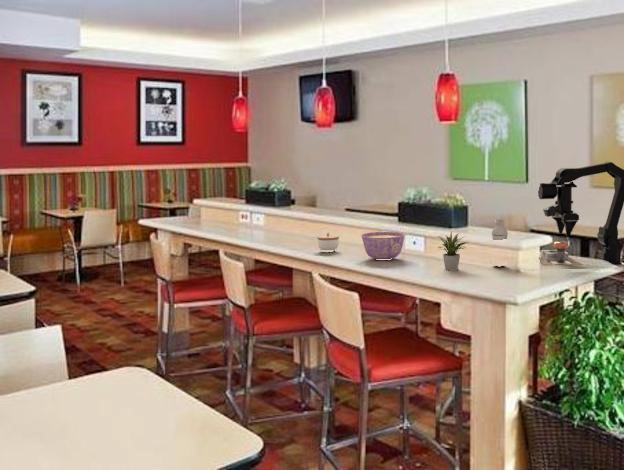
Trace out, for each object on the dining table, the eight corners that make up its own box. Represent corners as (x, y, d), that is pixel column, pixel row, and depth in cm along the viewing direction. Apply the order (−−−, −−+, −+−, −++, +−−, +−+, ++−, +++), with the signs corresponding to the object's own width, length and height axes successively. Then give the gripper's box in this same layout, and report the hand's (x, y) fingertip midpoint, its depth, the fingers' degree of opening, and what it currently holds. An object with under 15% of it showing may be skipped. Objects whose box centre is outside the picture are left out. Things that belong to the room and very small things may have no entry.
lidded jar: (329, 249, 356) (328, 231, 355) (343, 251, 348) (343, 233, 347) (313, 252, 349) (312, 233, 348) (327, 254, 341) (327, 235, 340)
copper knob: (552, 261, 295) (552, 240, 294) (565, 260, 295) (565, 240, 294) (555, 263, 289) (556, 242, 288) (569, 263, 289) (569, 242, 288)
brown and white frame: (569, 260, 306) (570, 249, 305) (583, 268, 288) (583, 256, 287) (532, 261, 307) (532, 250, 306) (543, 268, 289) (543, 257, 288)
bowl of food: (404, 263, 311) (404, 237, 310) (359, 263, 314) (359, 237, 313) (405, 255, 331) (405, 231, 329) (363, 255, 334) (363, 231, 332)
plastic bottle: (495, 265, 300) (495, 219, 298) (509, 266, 296) (510, 219, 293) (488, 267, 296) (488, 220, 293) (503, 269, 291) (503, 221, 289)
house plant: (441, 273, 285) (441, 234, 283) (426, 268, 298) (426, 230, 296) (472, 271, 289) (472, 232, 287) (457, 265, 302) (457, 228, 300)
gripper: (538, 197, 303) (538, 232, 305) (552, 201, 284) (551, 239, 286) (564, 196, 302) (564, 231, 304) (579, 200, 284) (579, 237, 286)
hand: (564, 235), depth 295 cm, fingers open, 9 cm apart
